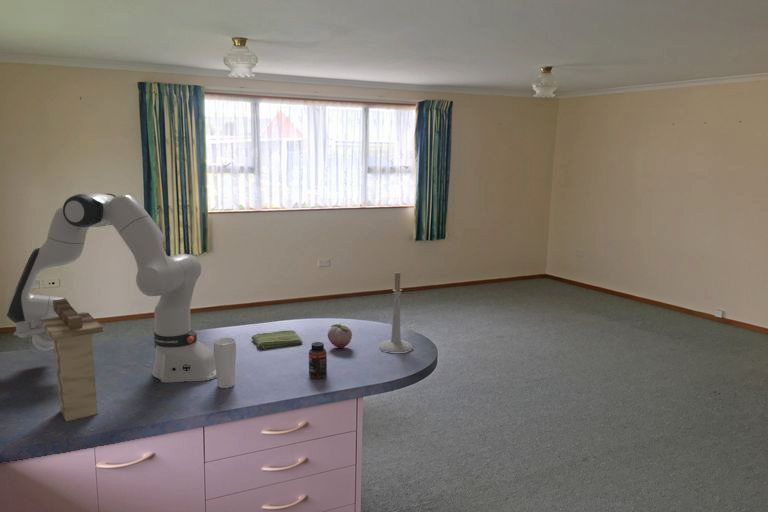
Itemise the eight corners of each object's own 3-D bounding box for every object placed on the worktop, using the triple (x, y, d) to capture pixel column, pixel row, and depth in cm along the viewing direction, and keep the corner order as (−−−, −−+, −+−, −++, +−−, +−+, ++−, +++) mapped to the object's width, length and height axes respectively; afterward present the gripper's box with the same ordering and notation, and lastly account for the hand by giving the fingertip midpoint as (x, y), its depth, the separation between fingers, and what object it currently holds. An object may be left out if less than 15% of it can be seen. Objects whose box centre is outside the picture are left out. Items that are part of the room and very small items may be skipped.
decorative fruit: (356, 347, 223) (357, 322, 221) (343, 353, 216) (344, 327, 215) (336, 342, 228) (337, 317, 226) (323, 348, 221) (323, 323, 219)
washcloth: (304, 345, 226) (304, 337, 225) (258, 351, 218) (258, 343, 217) (294, 335, 237) (293, 327, 236) (250, 340, 229) (250, 332, 229)
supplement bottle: (329, 373, 198) (329, 342, 196) (322, 380, 192) (322, 347, 190) (313, 371, 200) (313, 339, 197) (305, 377, 194) (305, 345, 192)
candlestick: (389, 356, 215) (391, 276, 210) (373, 345, 226) (374, 269, 220) (418, 350, 222) (421, 273, 216) (401, 340, 233) (403, 266, 227)
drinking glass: (217, 381, 190) (215, 337, 187) (238, 381, 190) (237, 337, 187) (212, 390, 183) (211, 344, 180) (235, 390, 184) (233, 344, 181)
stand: (49, 407, 169) (41, 319, 164) (94, 397, 176) (88, 312, 171) (61, 429, 157) (52, 335, 152) (109, 417, 164) (102, 326, 159)
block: (53, 310, 173) (52, 300, 172) (65, 308, 175) (64, 298, 174) (69, 329, 156) (69, 319, 155) (82, 327, 158) (81, 317, 157)
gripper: (11, 325, 185) (14, 313, 174) (82, 314, 197) (89, 302, 187) (14, 345, 183) (18, 334, 173) (86, 332, 196) (93, 321, 185)
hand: (56, 317), depth 180 cm, fingers open, 8 cm apart
